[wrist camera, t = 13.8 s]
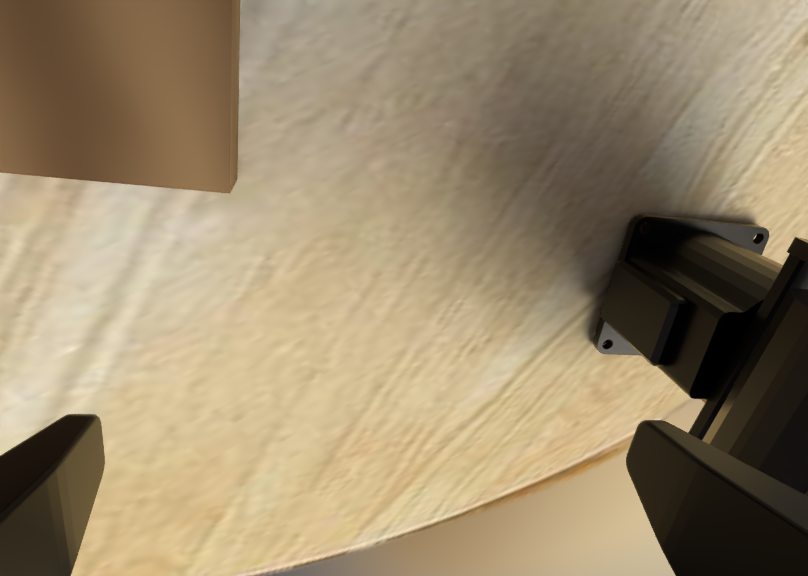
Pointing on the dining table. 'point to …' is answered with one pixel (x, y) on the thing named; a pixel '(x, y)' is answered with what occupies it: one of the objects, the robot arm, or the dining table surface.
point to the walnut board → (121, 91)
